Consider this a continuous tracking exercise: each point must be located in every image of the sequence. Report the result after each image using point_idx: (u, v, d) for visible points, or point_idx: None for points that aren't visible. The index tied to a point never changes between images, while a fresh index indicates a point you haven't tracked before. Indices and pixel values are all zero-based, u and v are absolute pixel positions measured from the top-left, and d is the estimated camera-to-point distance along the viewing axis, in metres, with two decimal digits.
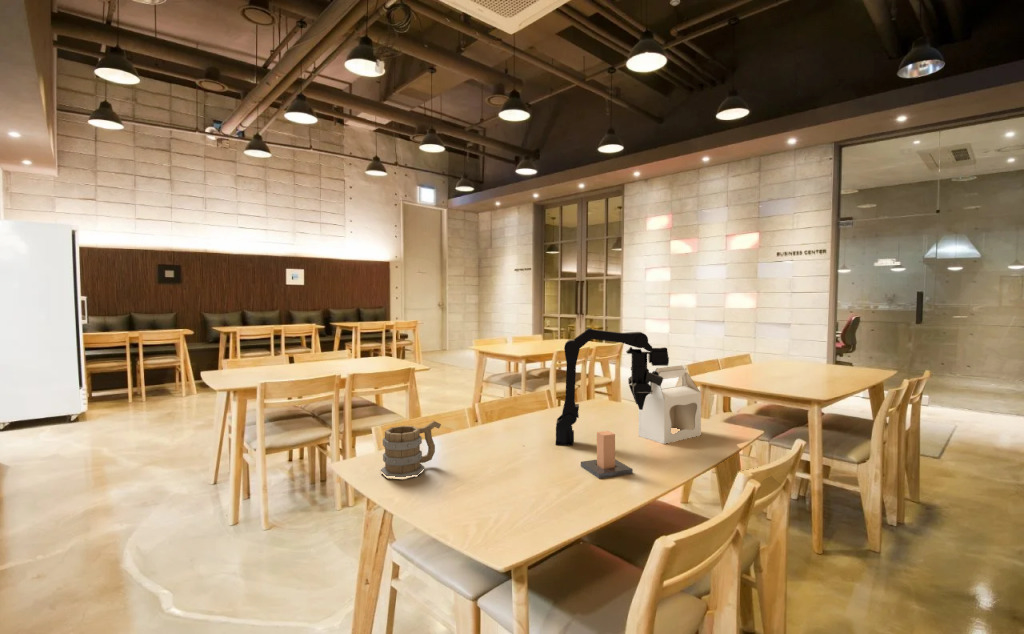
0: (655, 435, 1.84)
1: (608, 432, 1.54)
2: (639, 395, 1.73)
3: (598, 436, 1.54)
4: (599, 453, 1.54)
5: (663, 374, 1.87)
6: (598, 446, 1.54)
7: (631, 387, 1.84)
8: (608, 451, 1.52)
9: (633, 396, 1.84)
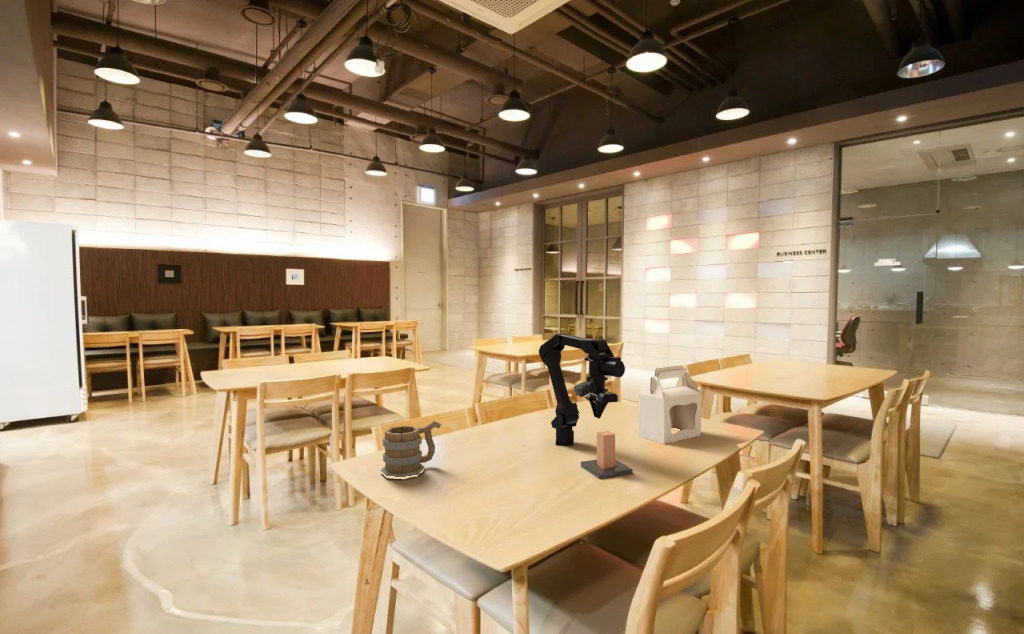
0: (655, 435, 1.84)
1: (608, 432, 1.54)
2: None
3: (598, 436, 1.54)
4: (599, 453, 1.54)
5: (663, 374, 1.87)
6: (598, 446, 1.54)
7: None
8: (608, 451, 1.52)
9: None
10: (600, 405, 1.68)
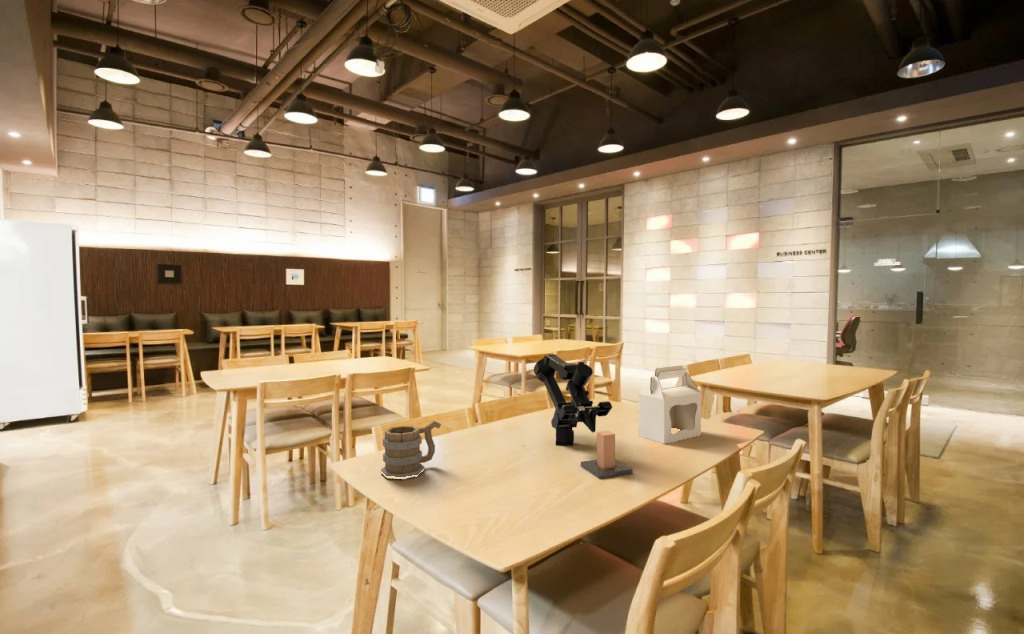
0: (655, 435, 1.84)
1: (608, 432, 1.54)
2: None
3: (598, 436, 1.54)
4: (599, 453, 1.54)
5: (663, 374, 1.87)
6: (598, 446, 1.54)
7: None
8: (608, 451, 1.52)
9: (591, 421, 1.62)
10: (585, 419, 1.64)
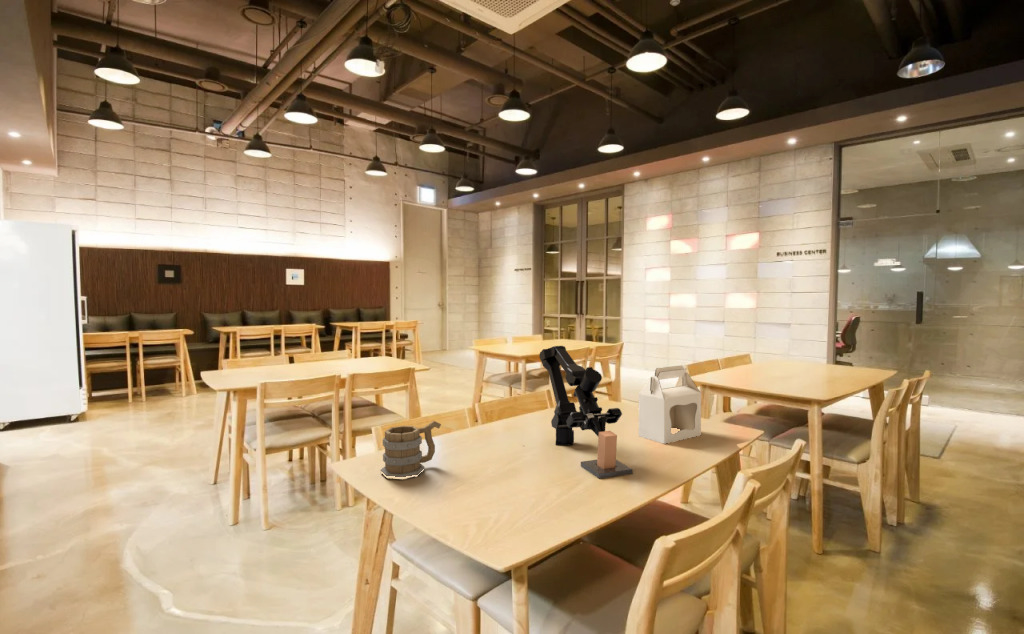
0: (655, 435, 1.84)
1: (610, 432, 1.53)
2: None
3: (600, 436, 1.53)
4: (600, 452, 1.53)
5: (663, 374, 1.87)
6: (599, 446, 1.53)
7: None
8: (609, 451, 1.51)
9: (601, 429, 1.56)
10: (594, 427, 1.58)
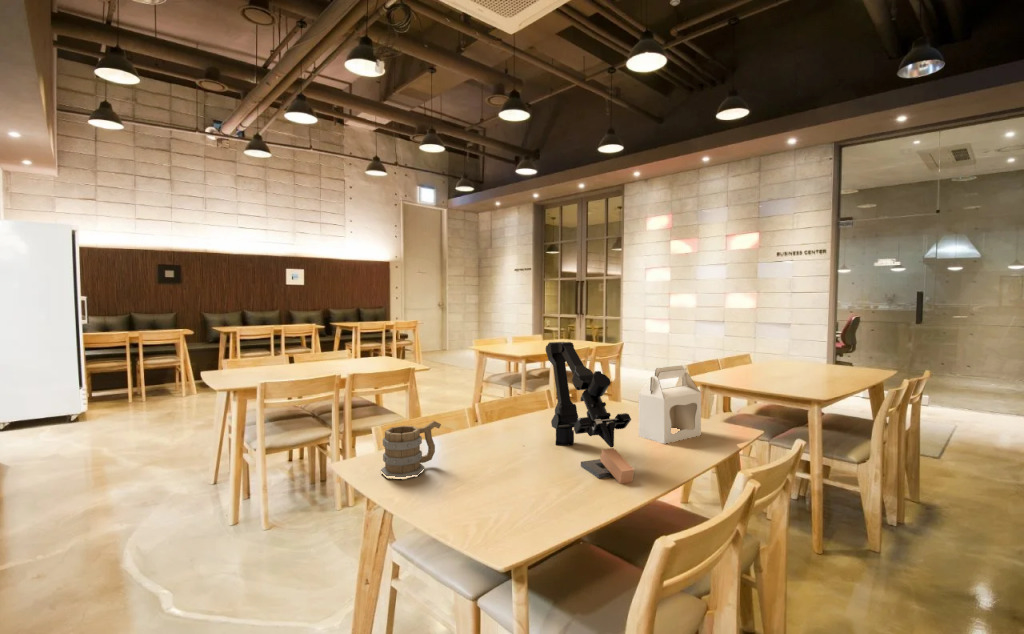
0: (655, 435, 1.84)
1: (630, 475, 1.43)
2: None
3: (619, 472, 1.43)
4: (610, 464, 1.47)
5: (663, 374, 1.87)
6: (613, 465, 1.46)
7: None
8: None
9: (609, 435, 1.51)
10: (602, 433, 1.53)
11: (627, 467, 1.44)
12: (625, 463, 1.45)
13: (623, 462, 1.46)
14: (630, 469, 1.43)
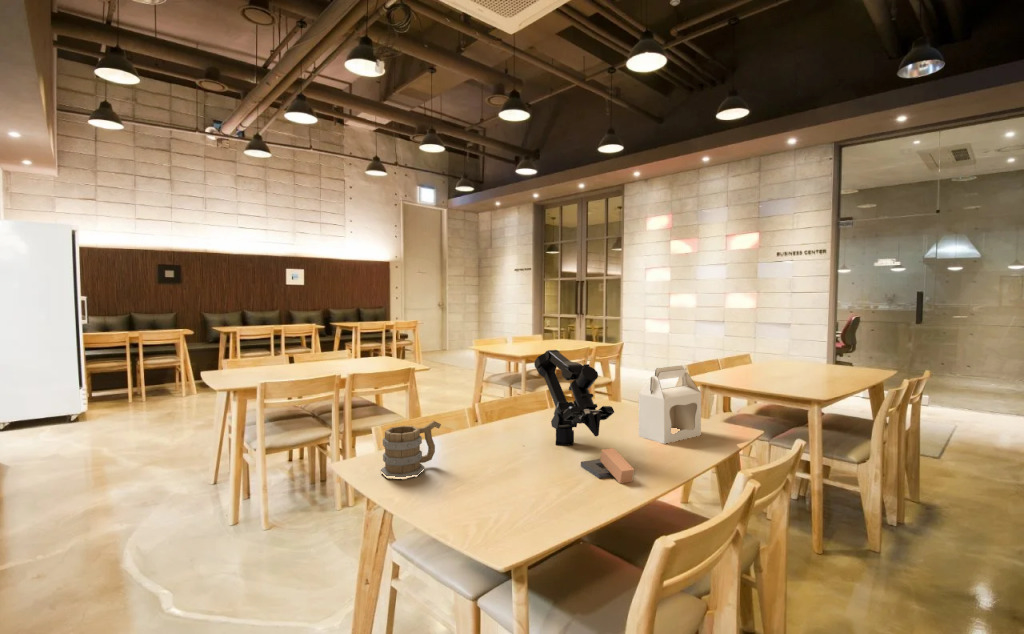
0: (655, 435, 1.84)
1: (630, 474, 1.43)
2: None
3: (619, 472, 1.43)
4: (610, 464, 1.47)
5: (663, 374, 1.87)
6: (613, 465, 1.46)
7: None
8: None
9: (596, 425, 1.61)
10: (589, 422, 1.63)
11: (627, 467, 1.44)
12: (625, 463, 1.45)
13: (623, 462, 1.46)
14: (630, 469, 1.43)
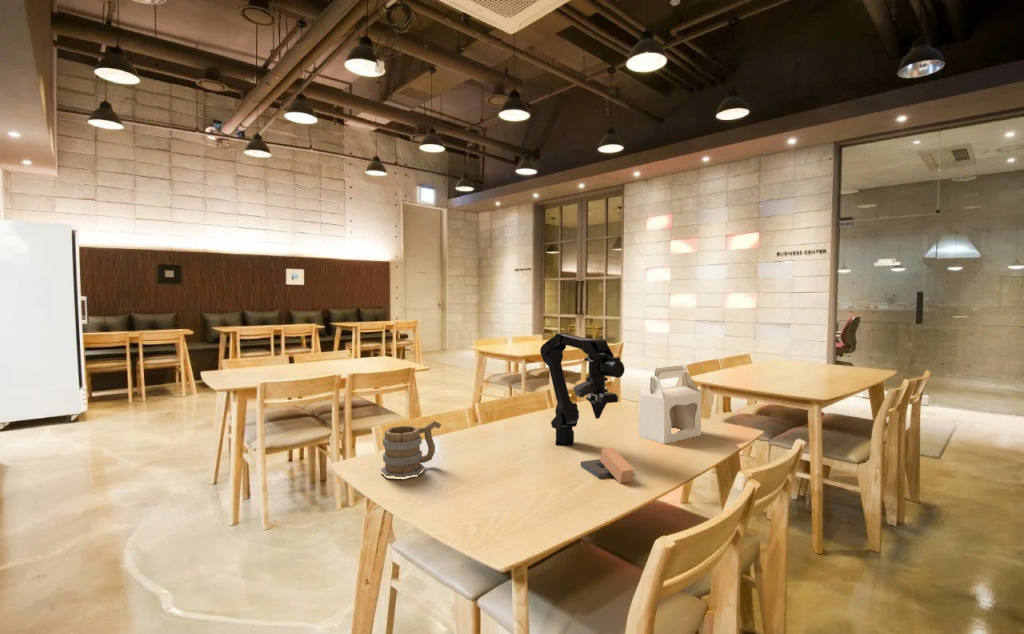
0: (655, 435, 1.84)
1: (630, 474, 1.43)
2: None
3: (619, 472, 1.43)
4: (610, 464, 1.47)
5: (663, 374, 1.87)
6: (613, 465, 1.46)
7: None
8: None
9: None
10: (599, 405, 1.67)
11: (627, 467, 1.44)
12: (625, 463, 1.45)
13: (623, 462, 1.46)
14: (630, 469, 1.43)
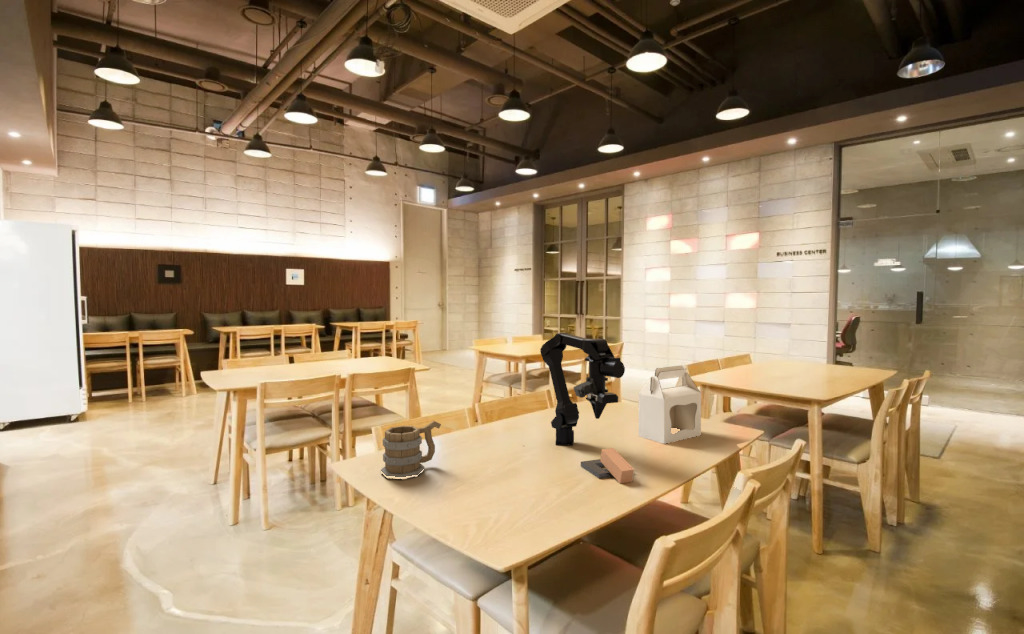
0: (655, 435, 1.84)
1: (630, 474, 1.43)
2: None
3: (619, 472, 1.43)
4: (610, 464, 1.47)
5: (663, 374, 1.87)
6: (613, 465, 1.46)
7: None
8: None
9: None
10: (599, 405, 1.67)
11: (627, 467, 1.44)
12: (625, 463, 1.45)
13: (623, 462, 1.46)
14: (630, 469, 1.43)
